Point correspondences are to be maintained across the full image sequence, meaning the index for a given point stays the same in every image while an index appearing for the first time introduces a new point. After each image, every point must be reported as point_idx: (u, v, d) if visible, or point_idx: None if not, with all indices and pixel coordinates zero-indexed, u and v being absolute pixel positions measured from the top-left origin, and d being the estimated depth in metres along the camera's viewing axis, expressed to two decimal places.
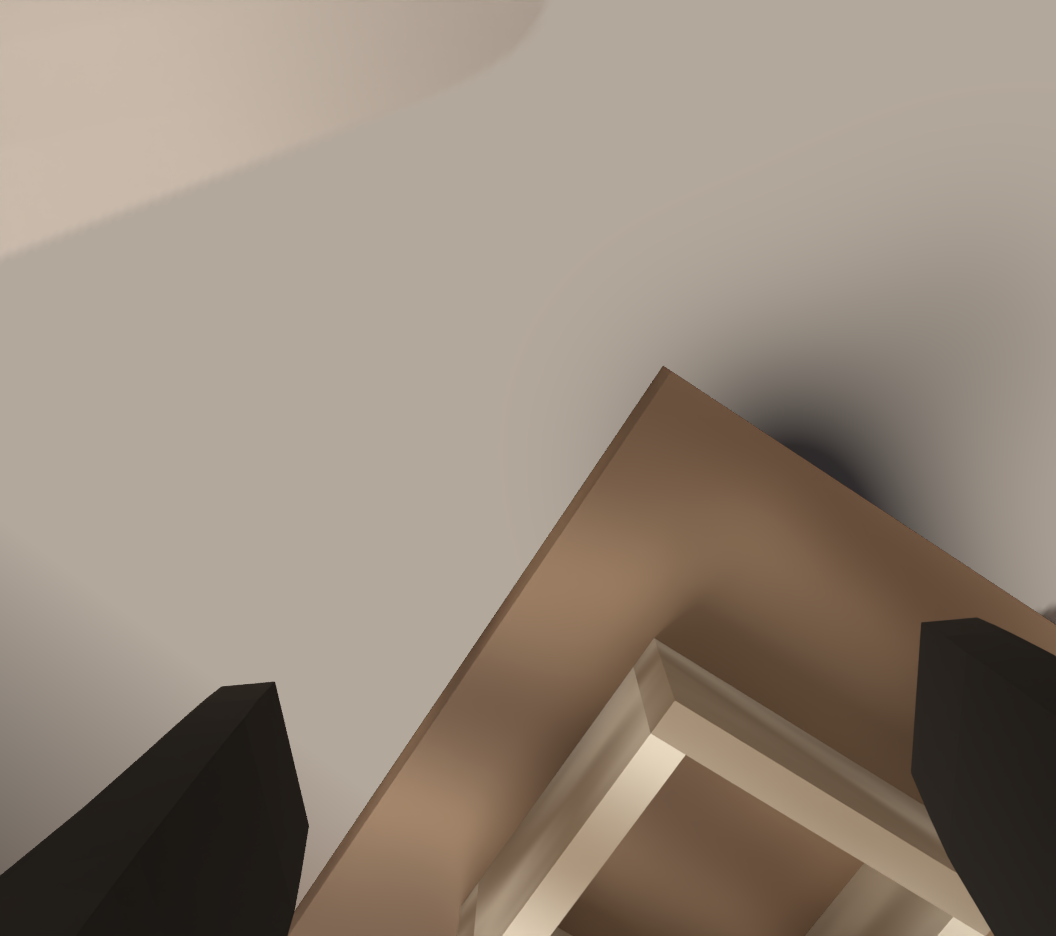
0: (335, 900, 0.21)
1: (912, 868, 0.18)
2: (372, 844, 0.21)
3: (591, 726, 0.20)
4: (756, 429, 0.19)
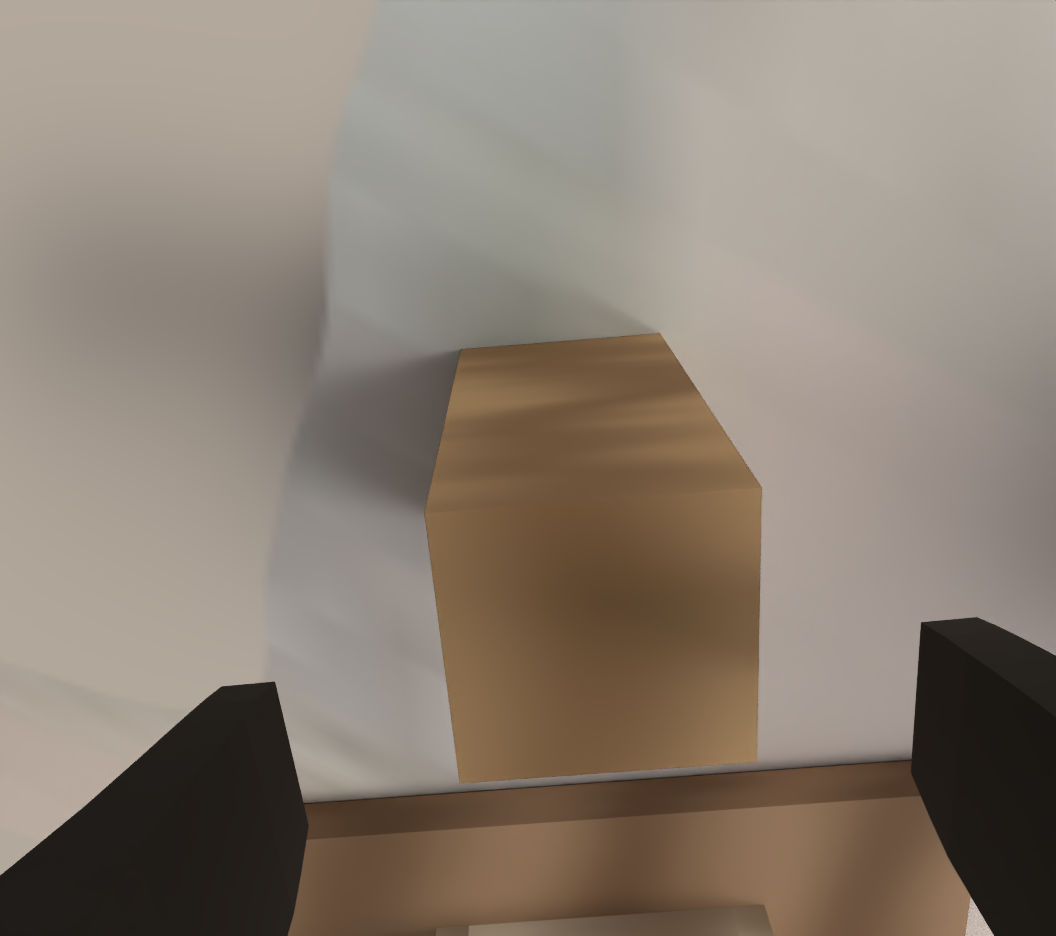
0: None
1: None
2: None
3: None
4: None
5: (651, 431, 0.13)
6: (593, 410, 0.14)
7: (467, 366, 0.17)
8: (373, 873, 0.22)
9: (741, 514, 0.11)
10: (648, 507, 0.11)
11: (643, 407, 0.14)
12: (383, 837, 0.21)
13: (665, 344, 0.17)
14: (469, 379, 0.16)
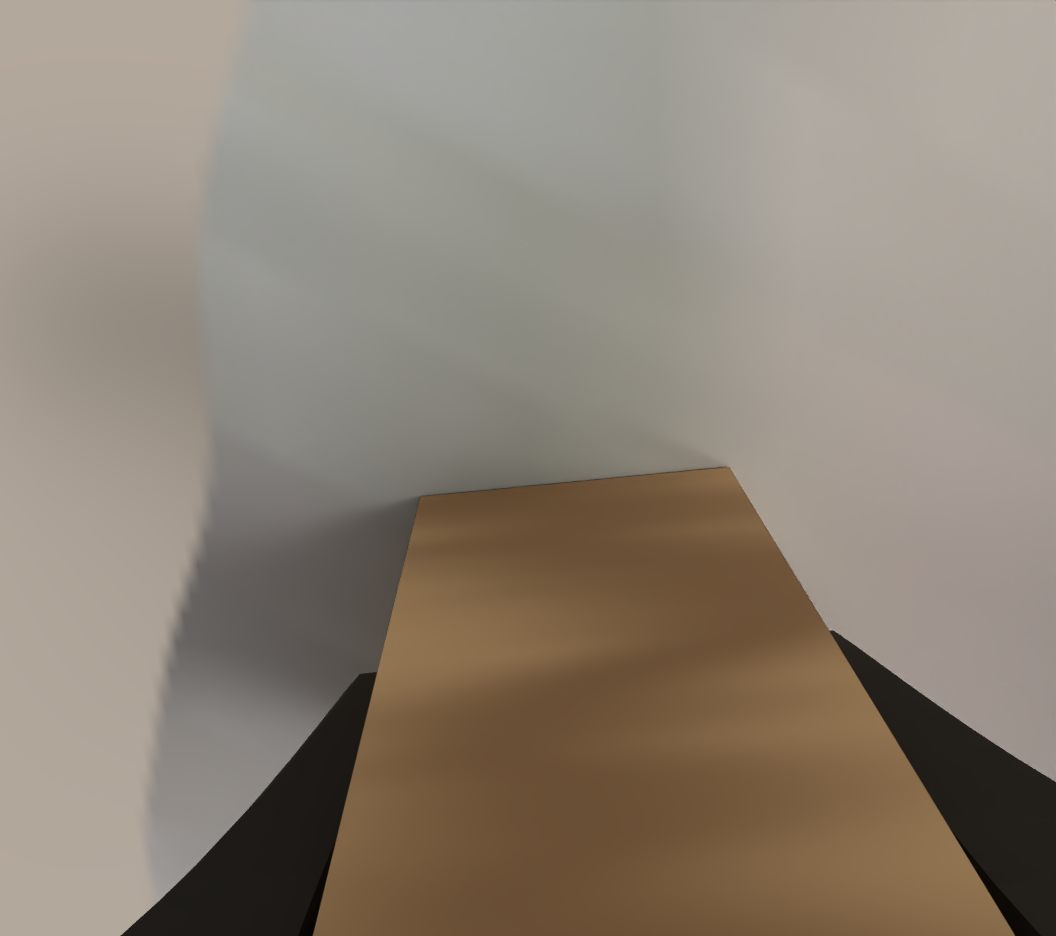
0: None
1: None
2: None
3: None
4: None
5: (770, 776, 0.06)
6: (643, 688, 0.07)
7: (425, 541, 0.10)
8: None
9: None
10: None
11: (738, 685, 0.07)
12: None
13: (743, 494, 0.11)
14: (425, 578, 0.10)
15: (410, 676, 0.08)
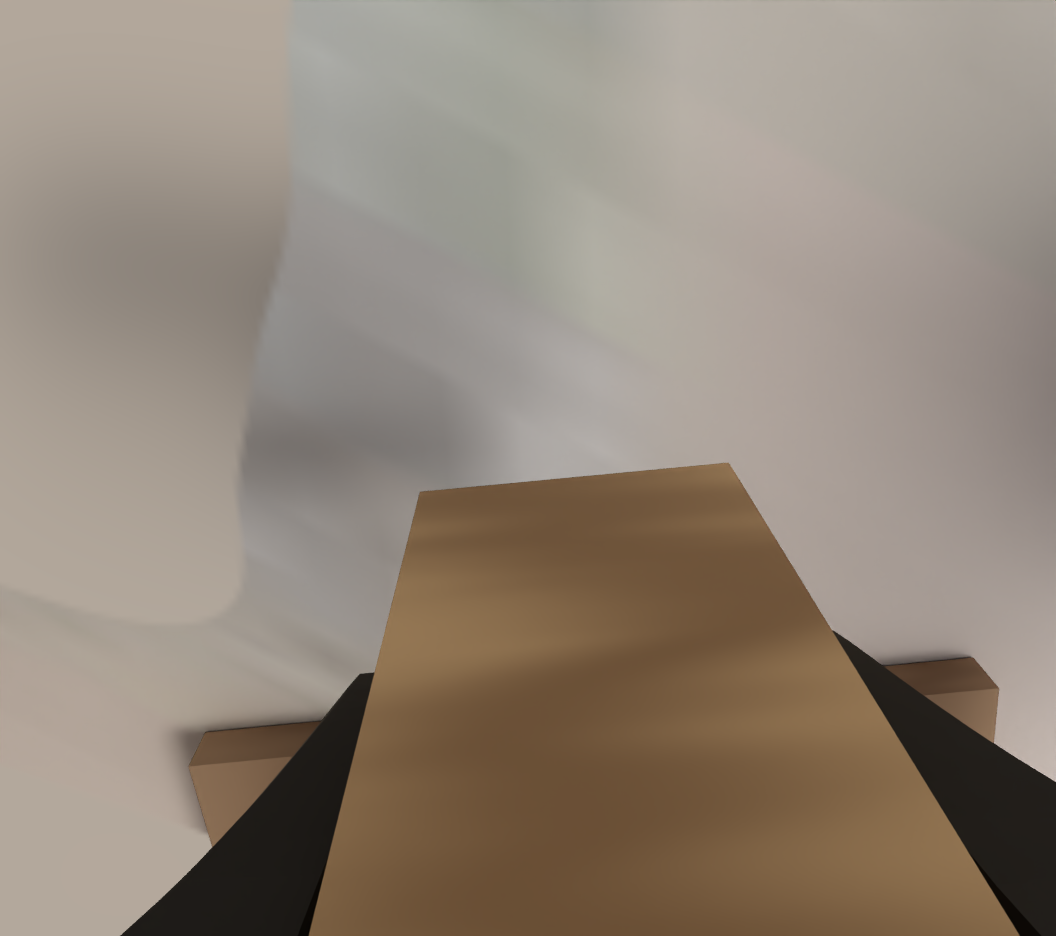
0: None
1: None
2: None
3: None
4: None
5: (769, 769, 0.06)
6: (642, 680, 0.07)
7: (425, 536, 0.10)
8: None
9: None
10: None
11: (737, 678, 0.07)
12: None
13: (742, 490, 0.11)
14: (424, 572, 0.10)
15: (409, 669, 0.08)
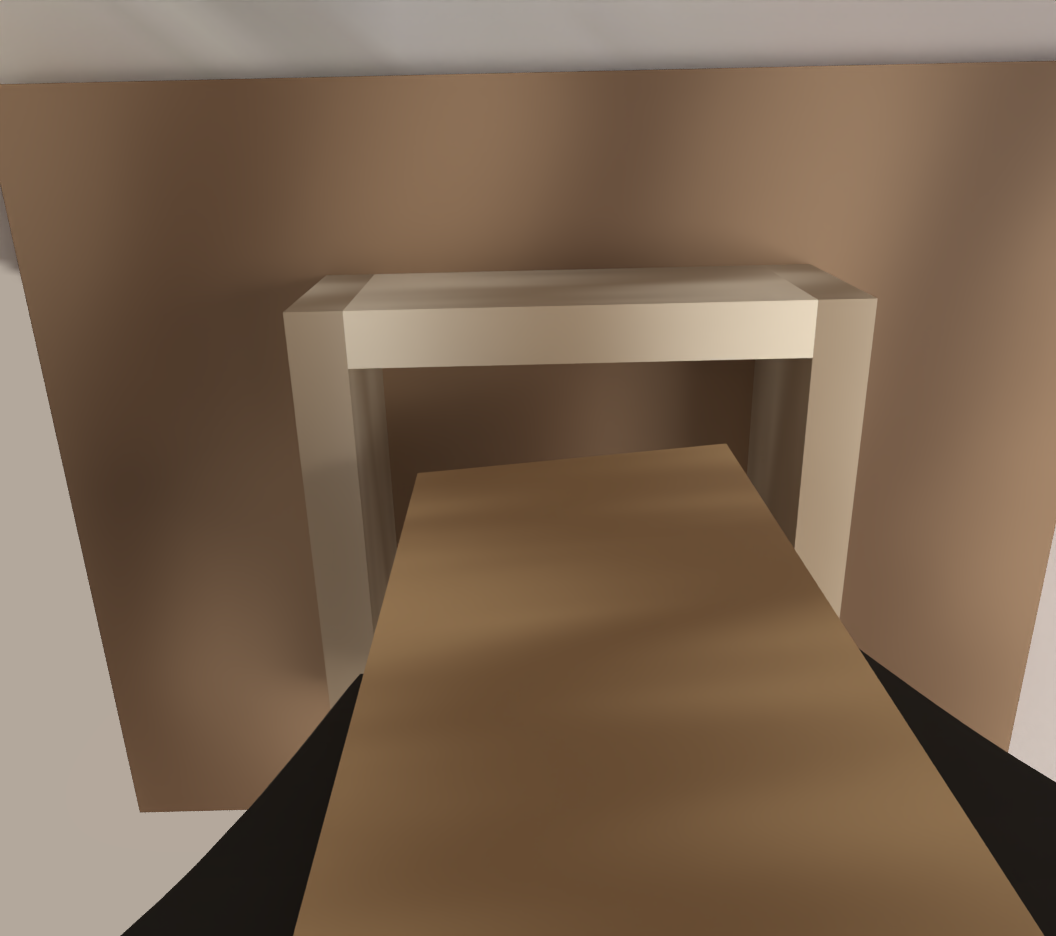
0: None
1: (327, 459, 0.13)
2: None
3: None
4: (122, 726, 0.18)
5: (766, 734, 0.06)
6: (639, 650, 0.07)
7: (422, 515, 0.10)
8: (232, 159, 0.14)
9: None
10: None
11: (733, 648, 0.07)
12: (248, 86, 0.14)
13: (740, 469, 0.11)
14: (421, 550, 0.10)
15: (406, 641, 0.08)
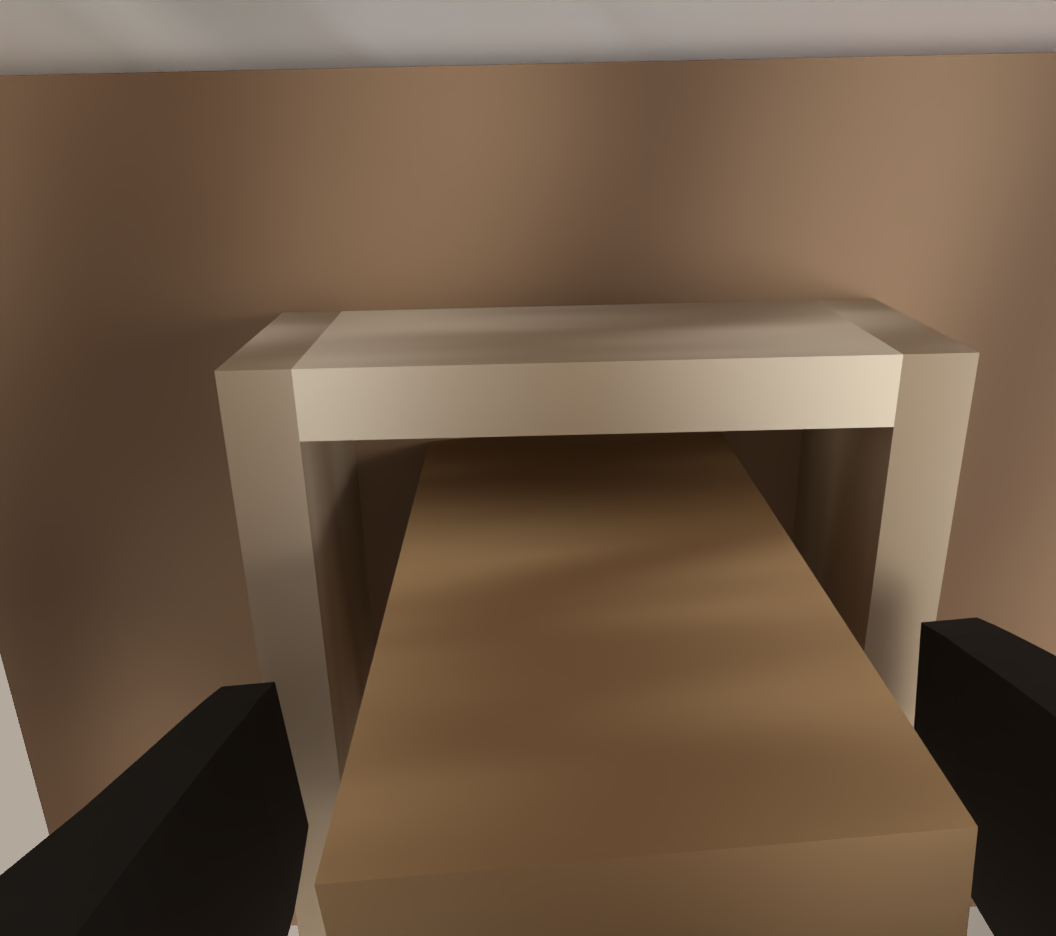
0: None
1: (275, 553, 0.10)
2: None
3: None
4: None
5: (730, 637, 0.08)
6: (625, 579, 0.09)
7: (434, 476, 0.12)
8: (164, 171, 0.12)
9: (934, 872, 0.06)
10: (752, 866, 0.06)
11: (707, 576, 0.09)
12: (181, 81, 0.11)
13: (720, 435, 0.12)
14: (434, 503, 0.11)
15: (423, 575, 0.09)
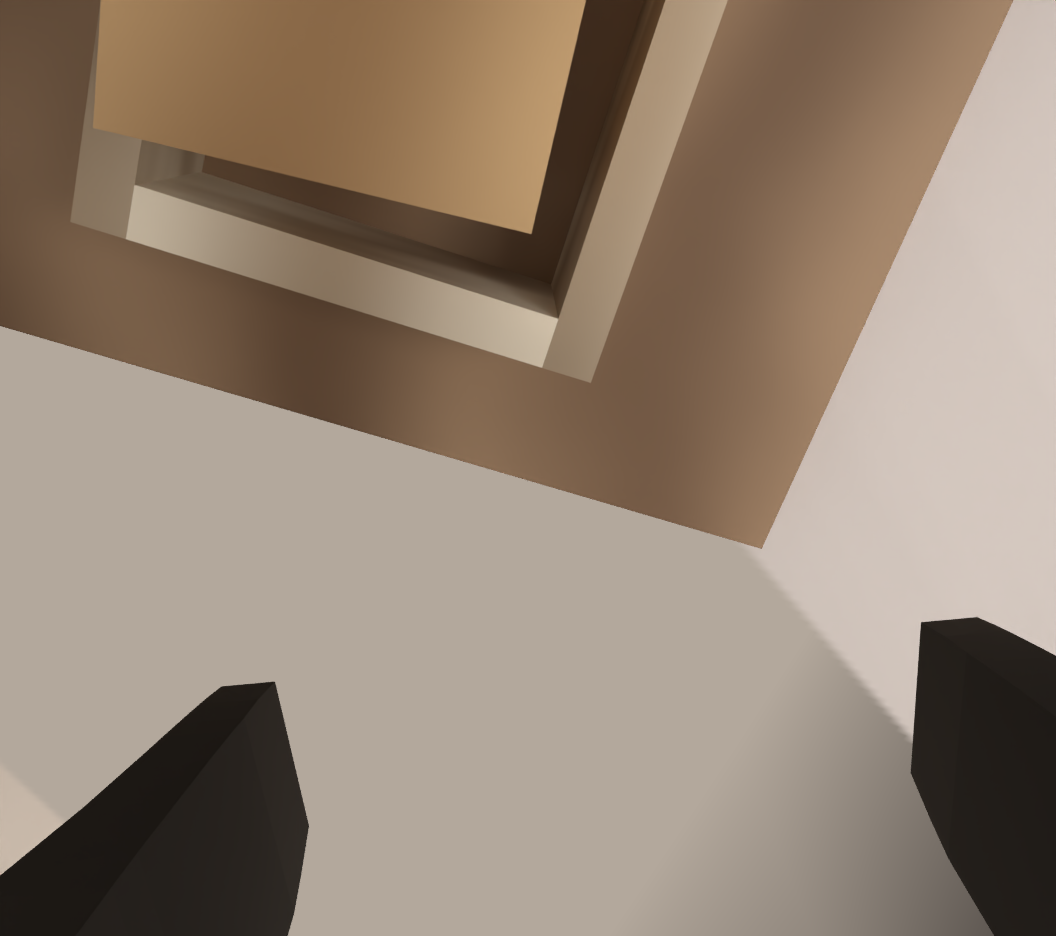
0: (605, 480, 0.18)
1: None
2: (521, 457, 0.18)
3: None
4: None
5: None
6: None
7: None
8: None
9: None
10: None
11: None
12: None
13: None
14: None
15: None
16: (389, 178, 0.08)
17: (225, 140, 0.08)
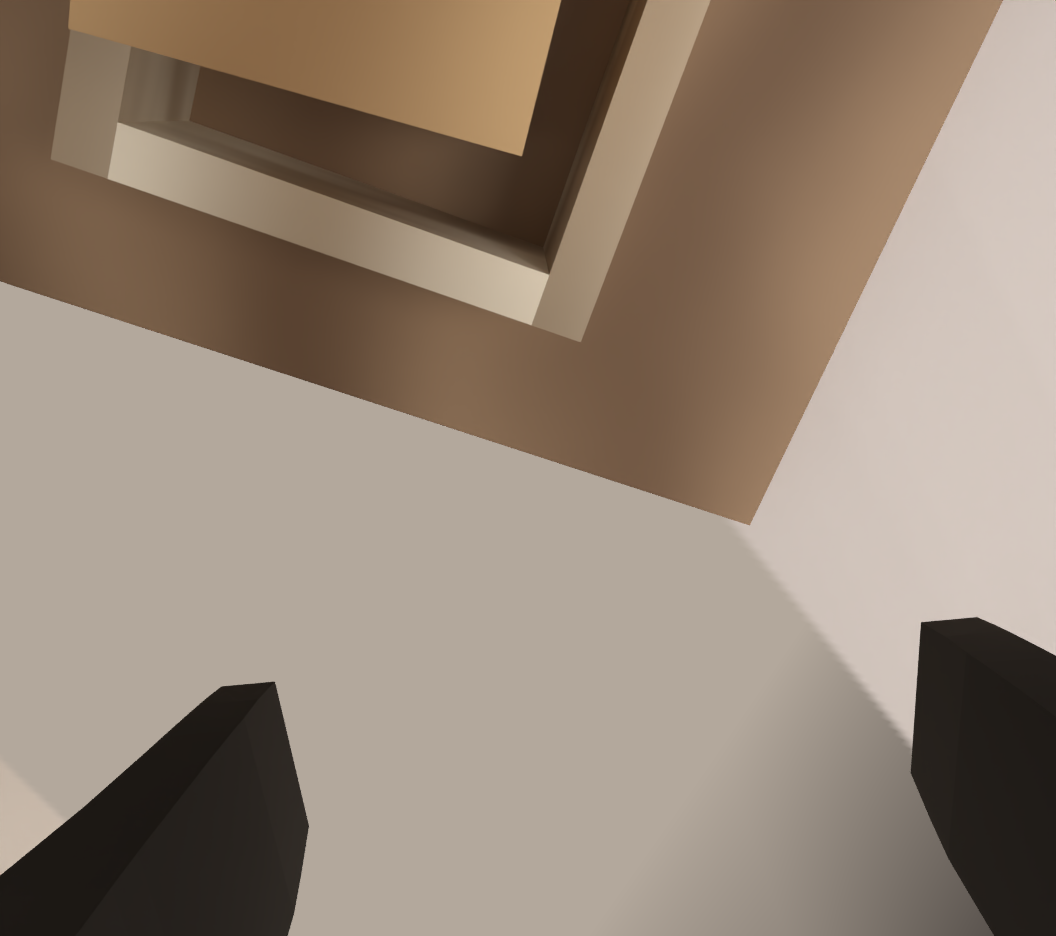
0: (593, 451, 0.18)
1: None
2: (508, 424, 0.18)
3: None
4: None
5: None
6: None
7: None
8: None
9: None
10: None
11: None
12: None
13: None
14: None
15: None
16: (376, 92, 0.08)
17: (206, 46, 0.08)
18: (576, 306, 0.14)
